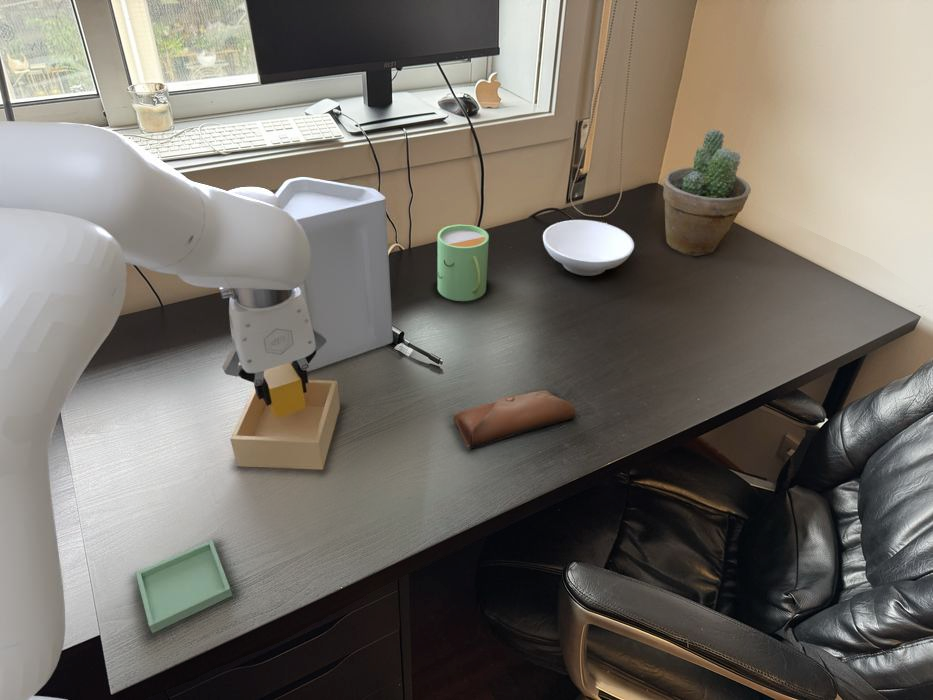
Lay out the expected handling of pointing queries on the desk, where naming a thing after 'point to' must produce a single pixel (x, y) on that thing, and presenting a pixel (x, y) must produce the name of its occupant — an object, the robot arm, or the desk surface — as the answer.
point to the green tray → (182, 585)
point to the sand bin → (288, 431)
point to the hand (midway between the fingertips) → (283, 392)
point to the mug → (462, 262)
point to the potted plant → (703, 198)
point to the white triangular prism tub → (343, 265)
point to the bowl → (587, 246)
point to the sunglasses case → (511, 417)
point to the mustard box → (284, 390)
